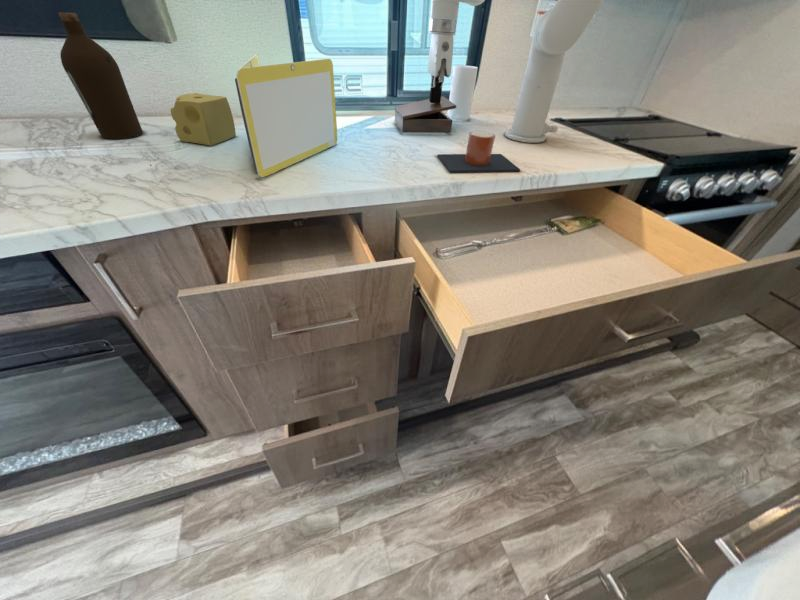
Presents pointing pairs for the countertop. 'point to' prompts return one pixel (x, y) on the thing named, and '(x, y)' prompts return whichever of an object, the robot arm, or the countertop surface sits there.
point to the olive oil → (98, 82)
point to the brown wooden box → (425, 123)
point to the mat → (458, 165)
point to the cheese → (203, 119)
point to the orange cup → (479, 148)
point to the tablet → (287, 111)
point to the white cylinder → (462, 91)
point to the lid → (423, 108)
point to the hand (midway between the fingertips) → (434, 102)
